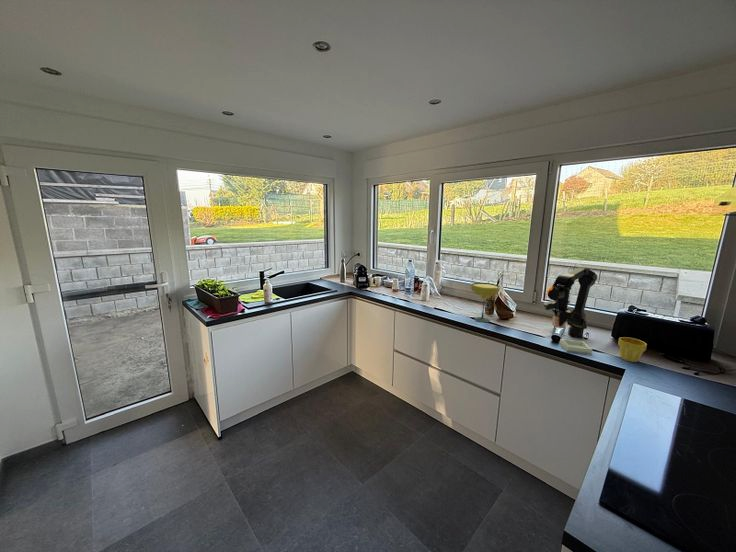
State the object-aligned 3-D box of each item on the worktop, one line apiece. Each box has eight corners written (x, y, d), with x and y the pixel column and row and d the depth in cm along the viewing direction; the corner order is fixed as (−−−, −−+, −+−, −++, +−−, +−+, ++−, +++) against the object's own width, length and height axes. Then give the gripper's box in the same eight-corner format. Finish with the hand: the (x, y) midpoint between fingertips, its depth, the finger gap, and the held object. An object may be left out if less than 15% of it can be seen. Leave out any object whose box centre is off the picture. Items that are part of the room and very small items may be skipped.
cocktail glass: (479, 314, 213) (482, 281, 209) (501, 321, 198) (505, 286, 194) (463, 318, 204) (465, 284, 199) (485, 326, 189) (488, 289, 184)
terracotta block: (561, 325, 164) (563, 317, 163) (564, 328, 159) (566, 319, 158) (551, 324, 165) (553, 316, 164) (554, 327, 161) (555, 318, 160)
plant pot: (637, 365, 138) (641, 346, 137) (611, 356, 147) (615, 339, 146) (647, 361, 143) (650, 343, 141) (621, 353, 152) (624, 335, 150)
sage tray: (582, 346, 160) (583, 341, 159) (591, 354, 149) (592, 349, 149) (559, 343, 163) (560, 338, 162) (567, 352, 152) (568, 346, 152)
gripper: (541, 292, 170) (538, 317, 173) (550, 300, 153) (547, 328, 156) (563, 294, 167) (559, 320, 170) (575, 302, 149) (570, 331, 152)
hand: (558, 324), depth 162 cm, fingers closed on terracotta block, 5 cm apart
